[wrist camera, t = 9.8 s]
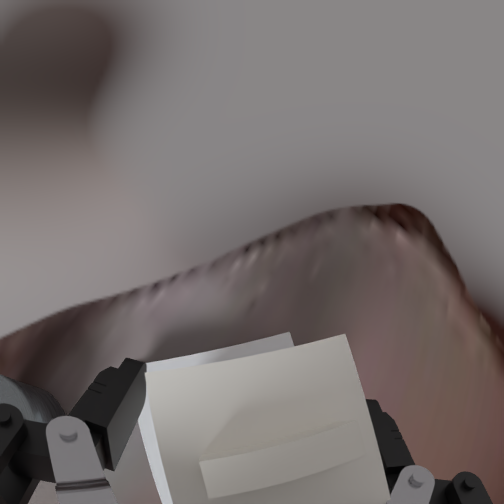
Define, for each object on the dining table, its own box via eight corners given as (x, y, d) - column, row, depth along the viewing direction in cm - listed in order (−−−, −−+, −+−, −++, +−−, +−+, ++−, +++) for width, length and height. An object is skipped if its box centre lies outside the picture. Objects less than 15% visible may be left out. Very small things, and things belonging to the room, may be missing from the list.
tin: (12, 462, 13) (-36, 463, 8) (0, 387, 16) (-48, 370, 11) (77, 465, 15) (35, 474, 10) (61, 384, 18) (17, 367, 13)
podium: (171, 517, 14) (165, 530, 12) (131, 369, 19) (119, 360, 17) (328, 476, 17) (345, 482, 14) (283, 337, 22) (293, 324, 19)
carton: (202, 484, 14) (189, 586, 3) (182, 401, 16) (129, 360, 6) (291, 464, 15) (419, 512, 4) (270, 384, 17) (366, 315, 7)
